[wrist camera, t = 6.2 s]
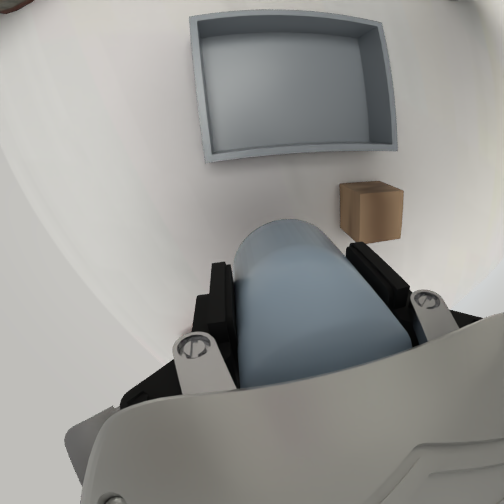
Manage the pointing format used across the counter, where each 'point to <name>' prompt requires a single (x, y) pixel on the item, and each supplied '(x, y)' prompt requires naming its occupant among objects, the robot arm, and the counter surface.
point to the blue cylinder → (305, 307)
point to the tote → (291, 83)
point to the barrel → (12, 5)
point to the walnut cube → (371, 211)
